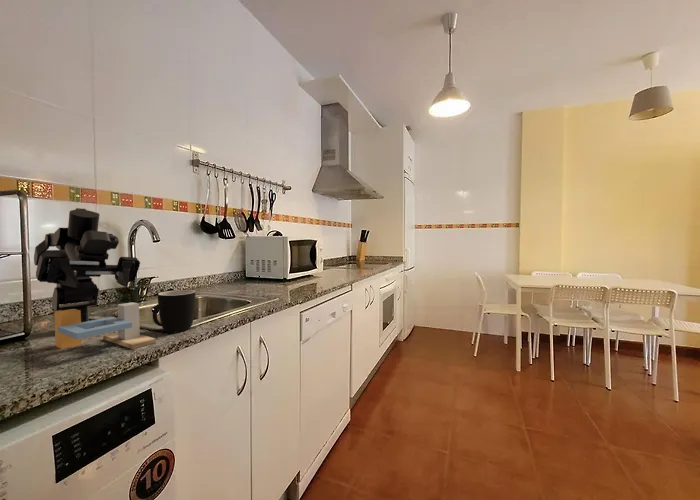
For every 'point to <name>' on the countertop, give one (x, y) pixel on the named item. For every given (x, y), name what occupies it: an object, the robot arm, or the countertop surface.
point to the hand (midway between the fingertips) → (103, 285)
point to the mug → (175, 310)
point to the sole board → (130, 340)
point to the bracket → (108, 324)
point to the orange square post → (66, 319)
